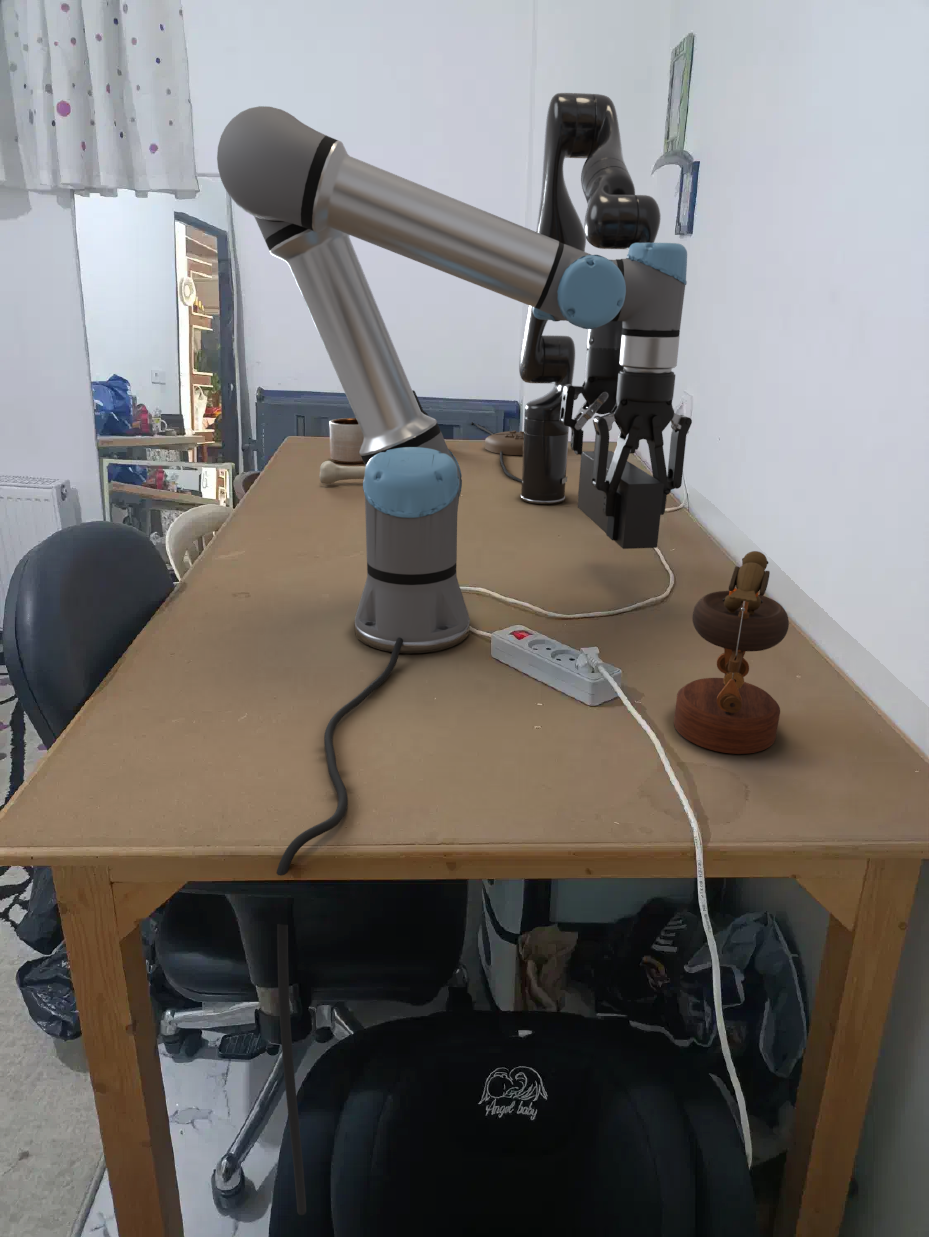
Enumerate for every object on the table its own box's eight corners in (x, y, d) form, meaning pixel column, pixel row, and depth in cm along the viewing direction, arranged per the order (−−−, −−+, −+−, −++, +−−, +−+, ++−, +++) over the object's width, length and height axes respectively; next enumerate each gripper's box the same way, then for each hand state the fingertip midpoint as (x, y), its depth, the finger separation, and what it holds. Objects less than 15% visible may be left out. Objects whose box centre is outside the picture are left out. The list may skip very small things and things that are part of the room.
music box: (796, 766, 83) (813, 573, 76) (681, 766, 84) (687, 577, 77) (763, 694, 97) (775, 526, 90) (665, 695, 98) (669, 530, 91)
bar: (657, 548, 119) (664, 483, 115) (622, 549, 118) (628, 484, 114) (606, 506, 139) (611, 450, 136) (577, 507, 138) (581, 451, 135)
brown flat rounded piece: (490, 464, 211) (490, 447, 209) (483, 443, 237) (483, 428, 235) (573, 465, 212) (575, 448, 210) (557, 444, 238) (558, 429, 236)
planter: (327, 456, 217) (325, 418, 214) (369, 454, 220) (368, 417, 217) (334, 465, 208) (332, 425, 204) (377, 463, 211) (376, 424, 207)
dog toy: (407, 478, 195) (407, 457, 193) (410, 485, 190) (410, 462, 188) (319, 480, 192) (318, 458, 190) (319, 487, 186) (318, 464, 185)
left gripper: (699, 366, 117) (680, 528, 126) (573, 366, 115) (563, 531, 123) (723, 372, 111) (701, 542, 119) (590, 372, 108) (577, 546, 117)
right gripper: (649, 342, 130) (639, 448, 136) (559, 342, 128) (553, 449, 134) (667, 346, 123) (656, 457, 129) (573, 346, 121) (566, 459, 127)
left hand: (631, 536), depth 121 cm, fingers closed on bar, 5 cm apart
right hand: (604, 453), depth 132 cm, fingers open, 8 cm apart
